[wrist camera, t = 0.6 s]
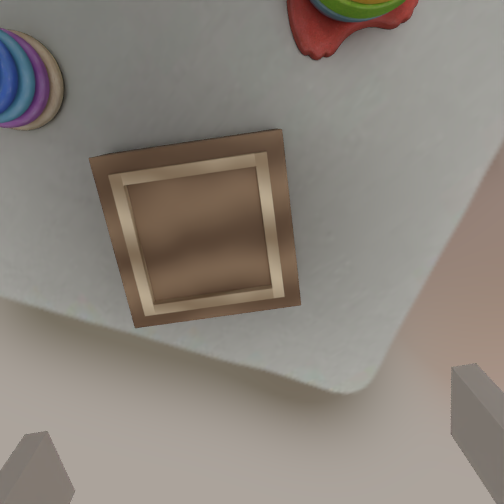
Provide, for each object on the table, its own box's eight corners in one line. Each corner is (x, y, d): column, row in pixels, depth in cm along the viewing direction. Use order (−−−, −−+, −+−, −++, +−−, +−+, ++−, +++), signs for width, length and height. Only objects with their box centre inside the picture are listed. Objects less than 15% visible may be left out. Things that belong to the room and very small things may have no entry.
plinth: (108, 153, 36) (84, 159, 30) (276, 128, 36) (283, 129, 30) (147, 304, 41) (132, 332, 35) (294, 283, 41) (302, 309, 35)
